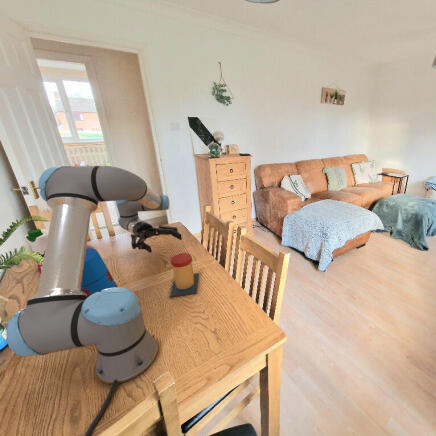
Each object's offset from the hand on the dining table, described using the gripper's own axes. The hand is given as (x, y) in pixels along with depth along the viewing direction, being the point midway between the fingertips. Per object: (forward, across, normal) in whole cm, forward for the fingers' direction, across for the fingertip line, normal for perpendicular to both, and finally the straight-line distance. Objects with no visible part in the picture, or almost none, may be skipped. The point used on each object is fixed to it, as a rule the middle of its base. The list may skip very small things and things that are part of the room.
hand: (166, 243), depth 102 cm
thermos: (+2, +26, -17) cm, 31 cm away
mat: (+10, 0, -17) cm, 20 cm away
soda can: (-32, +32, -18) cm, 49 cm away
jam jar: (+10, 0, -17) cm, 20 cm away
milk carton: (-49, +29, -18) cm, 60 cm away
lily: (-52, +16, -18) cm, 57 cm away
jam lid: (+10, 0, -4) cm, 11 cm away
